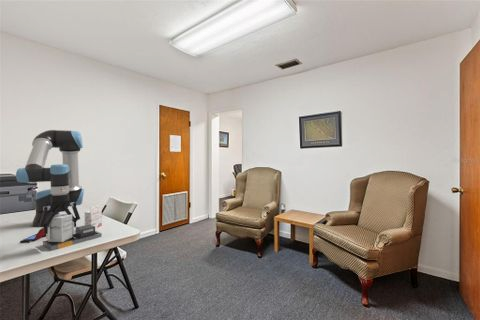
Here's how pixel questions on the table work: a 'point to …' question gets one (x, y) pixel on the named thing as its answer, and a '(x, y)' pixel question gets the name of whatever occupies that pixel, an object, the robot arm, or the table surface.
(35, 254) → the table surface
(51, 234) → the supplement box
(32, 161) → the robot arm
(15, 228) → the table surface
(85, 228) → the dark grey box
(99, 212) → the ink cartridge box
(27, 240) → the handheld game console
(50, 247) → the rack
